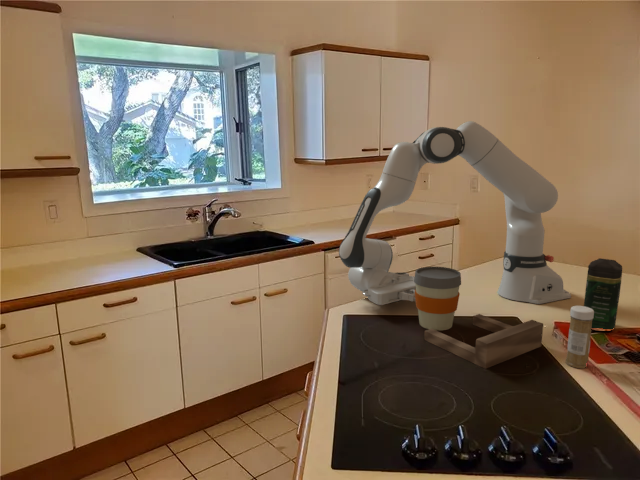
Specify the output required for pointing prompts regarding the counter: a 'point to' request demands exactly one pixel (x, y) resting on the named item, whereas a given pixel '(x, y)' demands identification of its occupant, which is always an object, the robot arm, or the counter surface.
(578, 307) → the spice jar
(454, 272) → the reusable coffee cup
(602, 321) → the coffee jar
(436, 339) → the walnut bay
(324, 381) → the counter surface
